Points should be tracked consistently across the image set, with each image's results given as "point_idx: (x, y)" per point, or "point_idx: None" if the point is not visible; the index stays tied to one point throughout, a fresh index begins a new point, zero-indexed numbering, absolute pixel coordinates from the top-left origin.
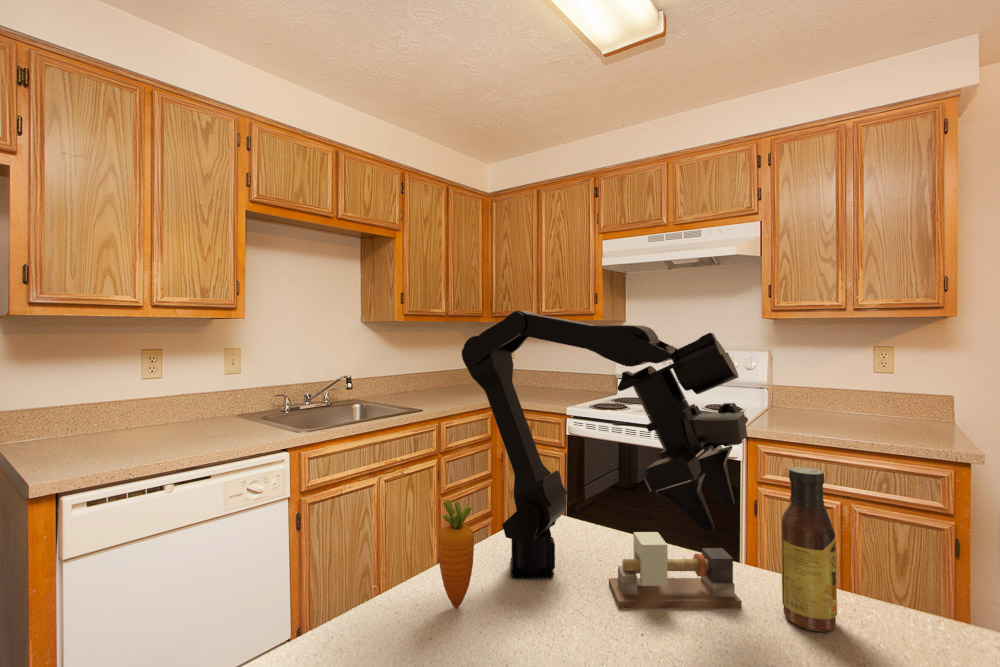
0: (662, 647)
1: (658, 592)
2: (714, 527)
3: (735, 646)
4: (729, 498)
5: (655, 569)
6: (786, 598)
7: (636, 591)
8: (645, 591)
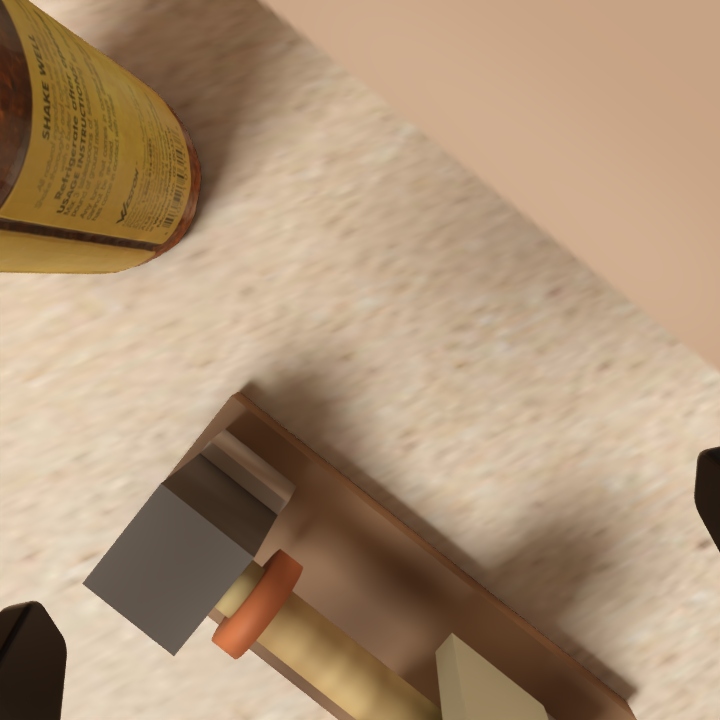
0: None
1: None
2: (710, 453)
3: (502, 286)
4: (25, 664)
5: (507, 711)
6: (162, 225)
7: None
8: None
